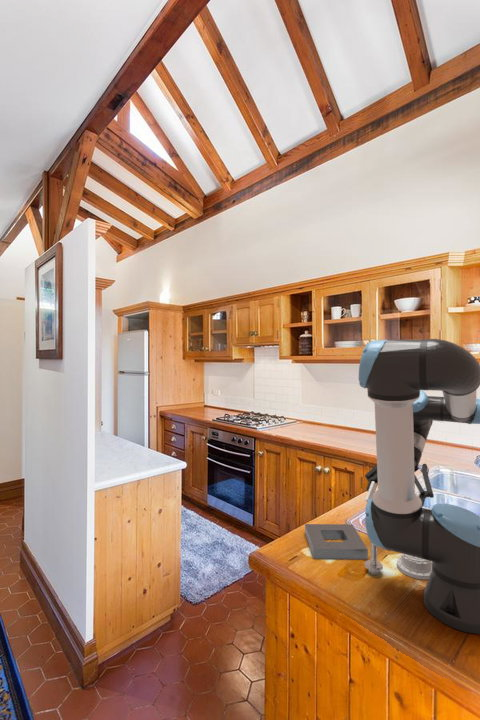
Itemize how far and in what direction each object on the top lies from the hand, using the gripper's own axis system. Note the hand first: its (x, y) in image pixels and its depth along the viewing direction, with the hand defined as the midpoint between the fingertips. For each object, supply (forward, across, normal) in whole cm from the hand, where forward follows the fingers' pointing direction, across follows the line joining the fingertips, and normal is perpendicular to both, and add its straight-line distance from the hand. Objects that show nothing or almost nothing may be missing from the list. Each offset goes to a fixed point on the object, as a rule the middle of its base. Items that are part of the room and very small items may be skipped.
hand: (389, 508), depth 109 cm
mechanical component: (+11, -8, -11) cm, 17 cm away
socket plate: (+14, +15, -7) cm, 22 cm away
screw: (+18, 0, -4) cm, 18 cm away
